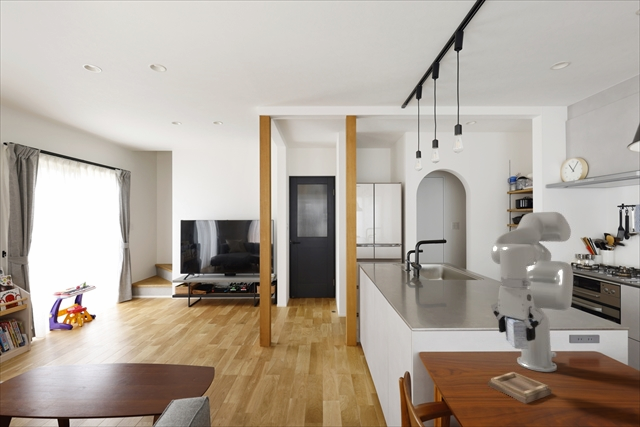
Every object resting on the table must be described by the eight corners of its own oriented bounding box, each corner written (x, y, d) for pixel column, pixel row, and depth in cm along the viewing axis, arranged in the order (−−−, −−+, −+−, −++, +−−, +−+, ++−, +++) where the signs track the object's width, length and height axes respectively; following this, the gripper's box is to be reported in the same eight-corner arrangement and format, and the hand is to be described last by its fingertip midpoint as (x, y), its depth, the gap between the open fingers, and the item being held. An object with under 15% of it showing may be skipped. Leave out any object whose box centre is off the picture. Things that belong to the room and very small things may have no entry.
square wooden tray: (513, 377, 115) (513, 370, 115) (551, 393, 104) (551, 385, 104) (488, 386, 109) (487, 378, 110) (525, 403, 98) (524, 395, 98)
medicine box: (529, 349, 103) (528, 321, 103) (514, 348, 104) (512, 321, 104) (519, 341, 111) (518, 315, 111) (505, 340, 112) (504, 314, 112)
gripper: (548, 285, 102) (551, 342, 101) (497, 278, 118) (499, 327, 117) (533, 288, 99) (536, 346, 98) (483, 280, 114) (485, 330, 114)
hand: (516, 335), depth 107 cm, fingers closed on medicine box, 9 cm apart
